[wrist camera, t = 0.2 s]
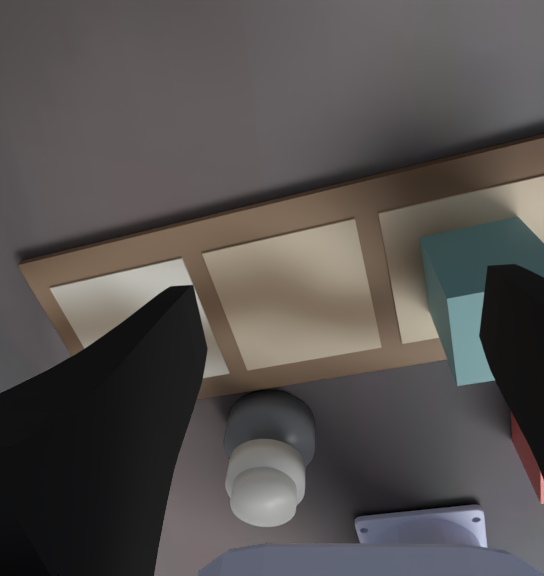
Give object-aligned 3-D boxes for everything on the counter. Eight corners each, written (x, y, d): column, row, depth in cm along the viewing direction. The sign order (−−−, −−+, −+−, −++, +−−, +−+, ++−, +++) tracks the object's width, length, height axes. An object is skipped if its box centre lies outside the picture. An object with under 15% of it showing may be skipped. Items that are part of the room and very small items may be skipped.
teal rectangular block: (520, 297, 22) (571, 368, 17) (430, 313, 23) (457, 385, 18) (518, 216, 20) (574, 275, 16) (419, 237, 21) (446, 298, 16)
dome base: (323, 446, 28) (324, 472, 27) (243, 457, 29) (239, 482, 28) (303, 383, 26) (302, 407, 25) (217, 397, 27) (211, 421, 26)
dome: (313, 485, 26) (312, 527, 24) (242, 494, 27) (236, 535, 24) (294, 433, 24) (292, 474, 22) (219, 444, 25) (210, 484, 23)
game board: (572, 332, 23) (578, 339, 23) (110, 408, 28) (106, 415, 28) (579, 124, 18) (586, 128, 18) (22, 260, 23) (16, 266, 23)
